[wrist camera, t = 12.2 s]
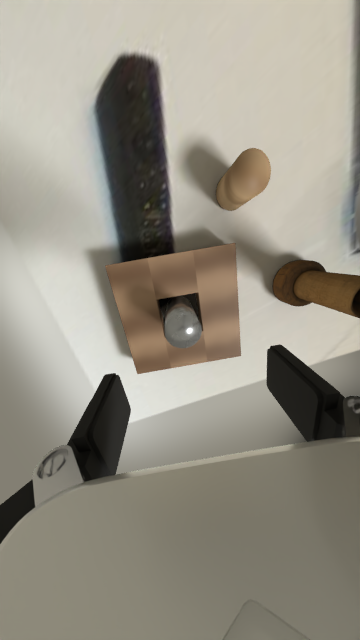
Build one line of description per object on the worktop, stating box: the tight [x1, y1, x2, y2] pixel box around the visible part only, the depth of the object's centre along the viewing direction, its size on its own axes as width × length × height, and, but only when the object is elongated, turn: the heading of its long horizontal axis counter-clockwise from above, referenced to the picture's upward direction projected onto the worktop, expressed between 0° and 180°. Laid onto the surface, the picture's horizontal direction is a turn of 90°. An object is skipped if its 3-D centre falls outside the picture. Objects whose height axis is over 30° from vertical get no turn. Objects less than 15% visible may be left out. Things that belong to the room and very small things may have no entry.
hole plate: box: [105, 243, 241, 374], centre depth 25 cm, size 16×16×4 cm
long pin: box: [164, 296, 202, 348], centre depth 23 cm, size 4×4×9 cm
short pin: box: [216, 148, 271, 211], centre depth 20 cm, size 4×4×5 cm
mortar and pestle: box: [273, 260, 360, 318], centre depth 18 cm, size 7×6×18 cm
